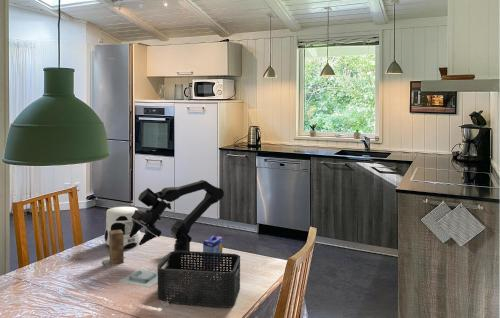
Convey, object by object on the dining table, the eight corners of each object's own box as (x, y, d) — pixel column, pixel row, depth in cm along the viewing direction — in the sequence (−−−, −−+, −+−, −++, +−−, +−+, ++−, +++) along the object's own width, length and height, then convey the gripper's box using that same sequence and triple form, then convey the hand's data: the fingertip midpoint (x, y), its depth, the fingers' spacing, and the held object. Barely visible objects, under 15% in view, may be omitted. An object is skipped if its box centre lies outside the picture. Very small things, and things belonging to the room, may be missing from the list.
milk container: (113, 238, 217) (113, 205, 215) (145, 240, 215) (145, 206, 213) (98, 249, 199) (97, 213, 197) (132, 251, 198) (132, 215, 196)
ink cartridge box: (213, 270, 178) (213, 237, 176) (201, 267, 180) (202, 235, 178) (222, 262, 187) (223, 231, 185) (212, 260, 189) (212, 230, 187)
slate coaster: (125, 258, 189) (125, 256, 189) (130, 265, 180) (130, 264, 180) (102, 261, 184) (102, 260, 184) (107, 269, 175) (107, 267, 175)
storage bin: (154, 303, 146) (154, 267, 145) (171, 281, 165) (171, 249, 164) (233, 309, 143) (234, 273, 141) (241, 286, 162) (242, 254, 160)
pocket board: (138, 270, 175) (138, 266, 174) (167, 275, 170) (167, 270, 170) (118, 283, 161) (118, 278, 161) (149, 288, 157) (149, 283, 157)
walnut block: (121, 259, 185) (120, 229, 184) (123, 263, 181) (123, 232, 179) (109, 261, 183) (109, 230, 181) (112, 264, 178) (111, 233, 177)
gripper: (134, 197, 189) (112, 225, 185) (154, 210, 176) (131, 241, 172) (150, 208, 196) (130, 235, 193) (170, 222, 183) (149, 251, 180)
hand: (134, 240), depth 184 cm, fingers open, 9 cm apart
